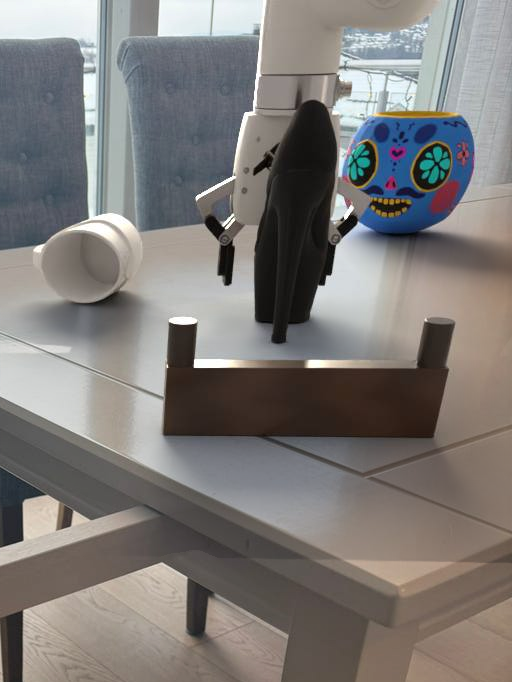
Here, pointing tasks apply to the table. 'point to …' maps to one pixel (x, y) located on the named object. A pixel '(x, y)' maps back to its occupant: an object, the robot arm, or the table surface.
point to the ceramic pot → (410, 168)
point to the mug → (90, 258)
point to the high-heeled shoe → (295, 219)
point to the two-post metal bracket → (304, 391)
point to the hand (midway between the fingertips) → (272, 283)
